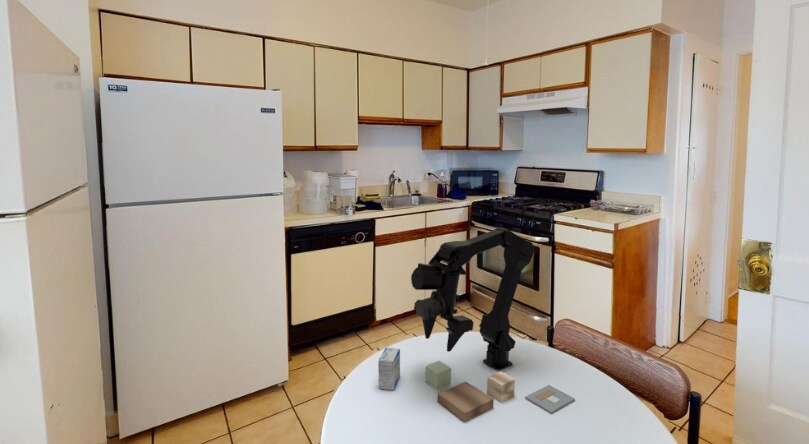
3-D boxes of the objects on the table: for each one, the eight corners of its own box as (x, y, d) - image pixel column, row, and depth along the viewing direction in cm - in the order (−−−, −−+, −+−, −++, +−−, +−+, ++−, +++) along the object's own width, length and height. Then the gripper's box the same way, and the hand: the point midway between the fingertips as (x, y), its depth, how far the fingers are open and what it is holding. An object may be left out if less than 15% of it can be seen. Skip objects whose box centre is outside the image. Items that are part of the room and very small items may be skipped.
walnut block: (465, 391, 115) (466, 381, 114) (493, 409, 107) (493, 399, 106) (437, 403, 109) (437, 393, 109) (463, 424, 101) (464, 413, 101)
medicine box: (394, 391, 114) (394, 361, 113) (378, 389, 115) (378, 359, 114) (400, 376, 122) (400, 348, 120) (385, 374, 123) (385, 346, 121)
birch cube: (499, 387, 116) (500, 371, 115) (513, 396, 112) (514, 379, 111) (486, 393, 113) (487, 376, 112) (501, 402, 109) (501, 385, 108)
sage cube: (439, 376, 122) (439, 360, 121) (450, 384, 118) (451, 367, 117) (425, 382, 119) (425, 365, 118) (436, 390, 115) (437, 373, 114)
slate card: (548, 386, 117) (548, 384, 116) (574, 400, 110) (575, 398, 110) (525, 398, 111) (525, 396, 111) (551, 414, 104) (551, 411, 104)
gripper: (403, 280, 117) (394, 334, 119) (447, 301, 102) (437, 362, 104) (433, 280, 124) (425, 331, 125) (479, 299, 109) (469, 357, 110)
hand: (437, 344), depth 116 cm, fingers open, 9 cm apart
